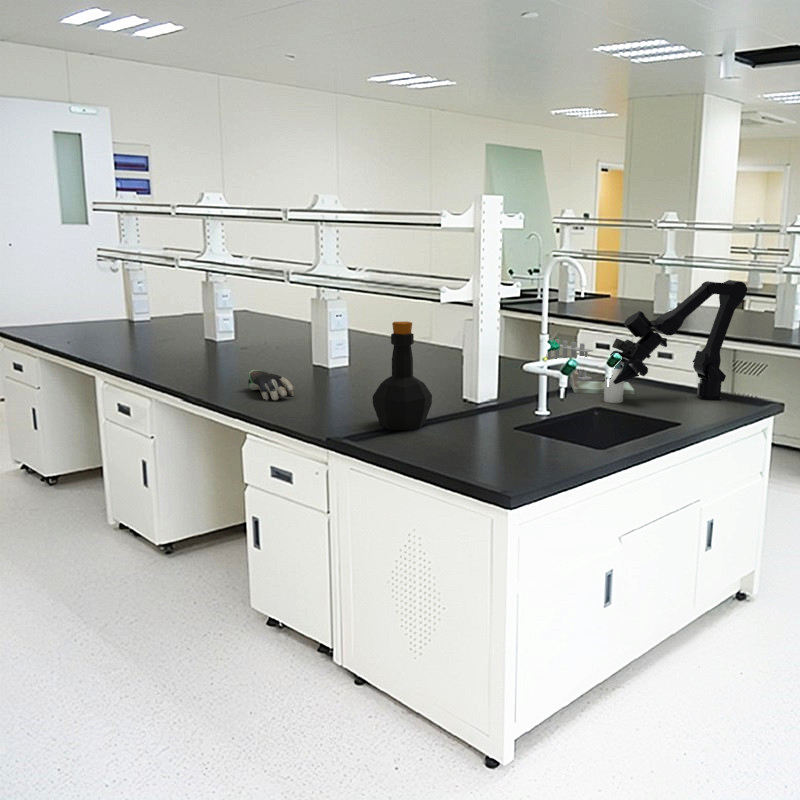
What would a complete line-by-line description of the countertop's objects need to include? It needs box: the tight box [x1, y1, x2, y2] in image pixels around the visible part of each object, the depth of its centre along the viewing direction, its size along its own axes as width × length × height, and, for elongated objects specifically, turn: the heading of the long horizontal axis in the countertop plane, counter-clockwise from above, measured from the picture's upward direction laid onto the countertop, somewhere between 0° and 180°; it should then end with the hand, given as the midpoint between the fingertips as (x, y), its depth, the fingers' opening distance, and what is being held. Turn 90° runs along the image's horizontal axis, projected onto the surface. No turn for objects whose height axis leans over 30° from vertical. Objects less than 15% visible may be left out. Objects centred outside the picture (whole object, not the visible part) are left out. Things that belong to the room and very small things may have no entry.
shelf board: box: [570, 369, 635, 395], centre depth 286 cm, size 20×14×6 cm
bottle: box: [372, 321, 433, 431], centre depth 233 cm, size 16×16×30 cm
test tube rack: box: [538, 337, 594, 381], centre depth 314 cm, size 25×4×13 cm, turn 33°
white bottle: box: [603, 362, 625, 404], centre depth 267 cm, size 6×6×13 cm
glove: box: [247, 369, 295, 401], centre depth 278 cm, size 12×10×25 cm
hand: (610, 381), depth 267 cm, fingers closed on white bottle, 6 cm apart
